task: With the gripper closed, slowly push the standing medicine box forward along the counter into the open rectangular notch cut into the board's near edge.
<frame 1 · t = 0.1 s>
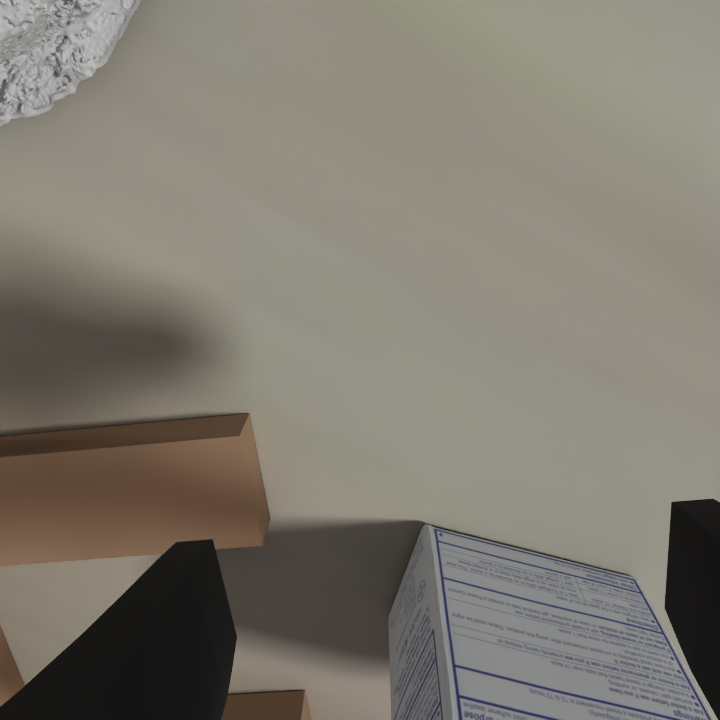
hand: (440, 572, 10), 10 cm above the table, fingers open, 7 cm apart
notched board: (77, 624, 24), on the table
medicine box: (508, 588, 23), on the table
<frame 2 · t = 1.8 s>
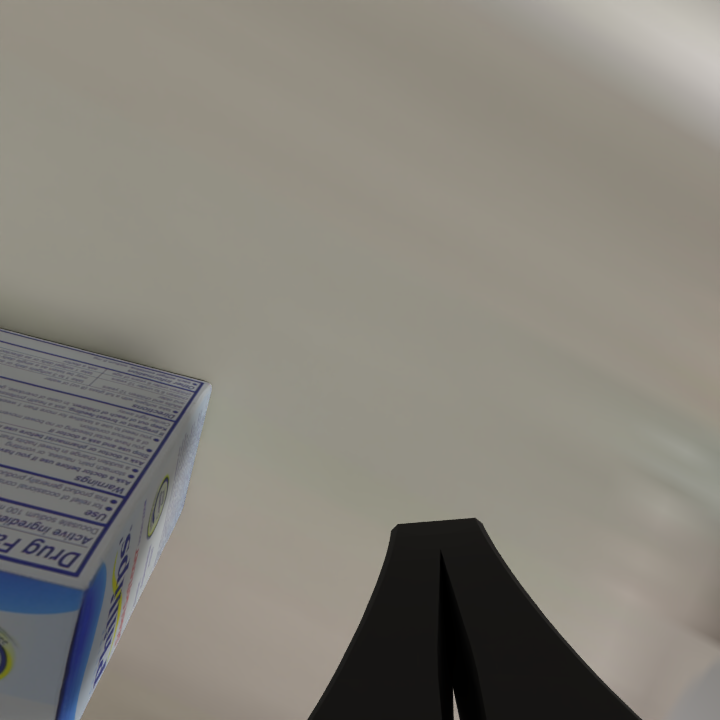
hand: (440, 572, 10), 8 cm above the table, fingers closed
medicine box: (72, 405, 19), on the table
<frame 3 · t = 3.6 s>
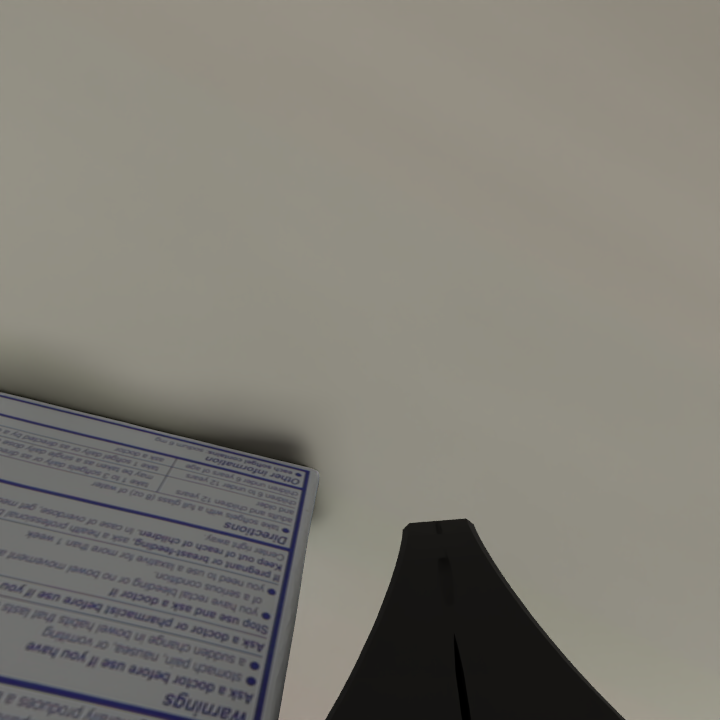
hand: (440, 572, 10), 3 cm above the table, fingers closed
medicine box: (120, 497, 14), on the table, touching gripper
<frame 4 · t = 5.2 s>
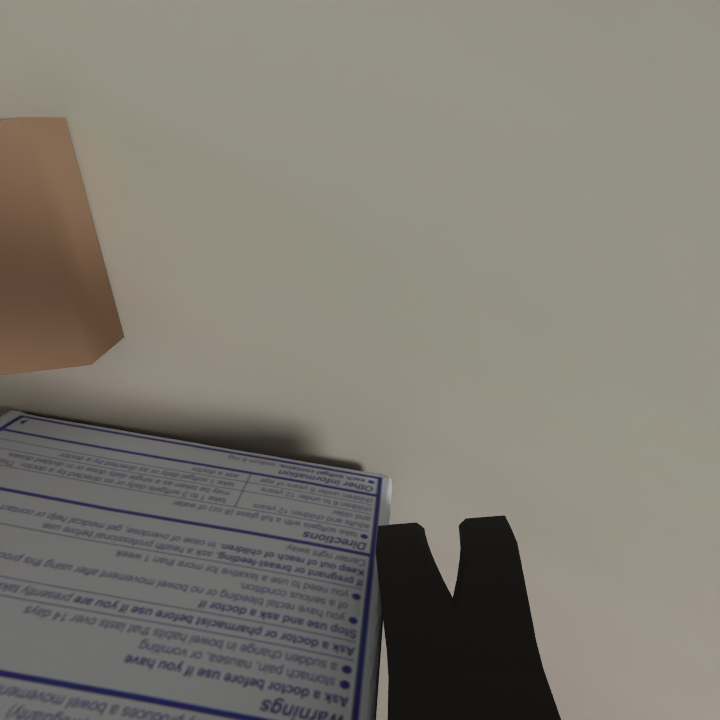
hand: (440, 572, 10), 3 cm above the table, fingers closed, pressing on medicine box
medicine box: (199, 518, 14), on the table, touching gripper
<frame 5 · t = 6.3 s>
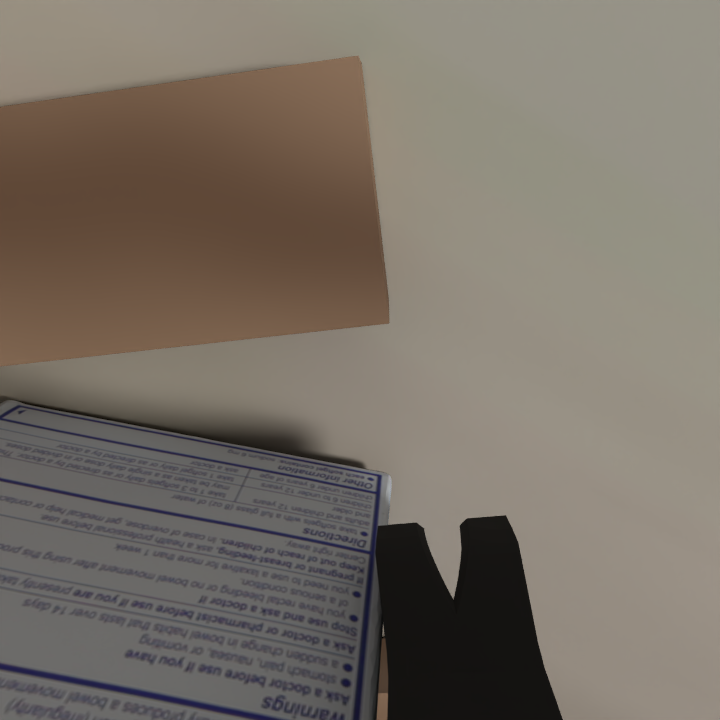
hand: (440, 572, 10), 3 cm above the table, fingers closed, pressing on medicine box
notched board: (41, 518, 14), on the table
medicine box: (196, 511, 14), on the table, touching gripper
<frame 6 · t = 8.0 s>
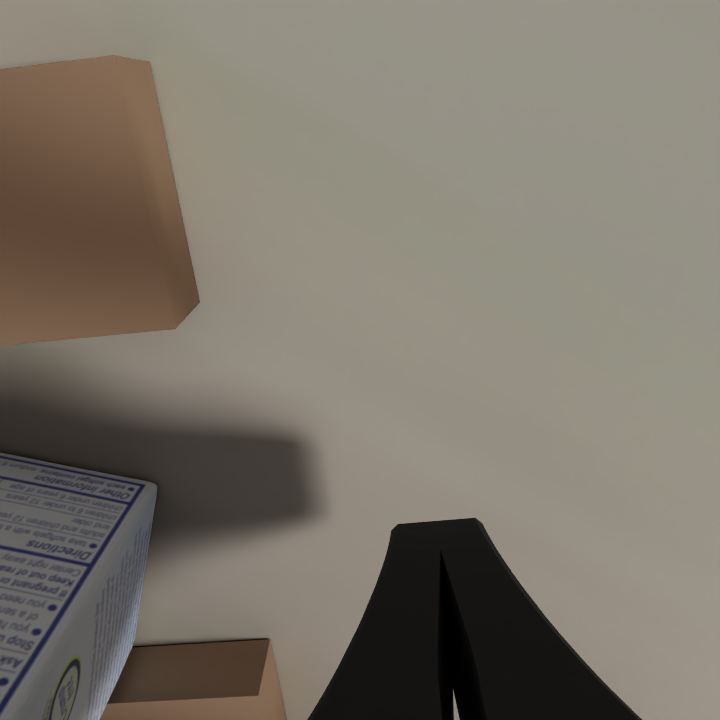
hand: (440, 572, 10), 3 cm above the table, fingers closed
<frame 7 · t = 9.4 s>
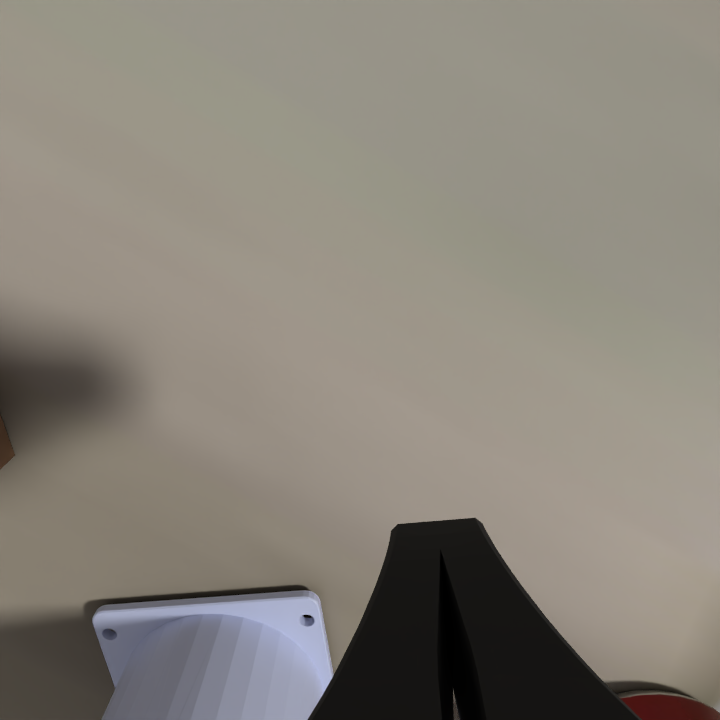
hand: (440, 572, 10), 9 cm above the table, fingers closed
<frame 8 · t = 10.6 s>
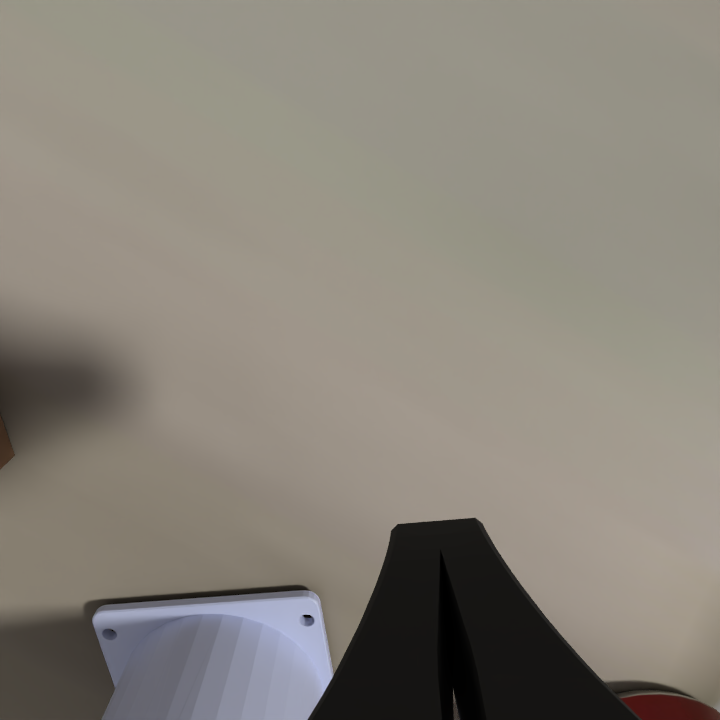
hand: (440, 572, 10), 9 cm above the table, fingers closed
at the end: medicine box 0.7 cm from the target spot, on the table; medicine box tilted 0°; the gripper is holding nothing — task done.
